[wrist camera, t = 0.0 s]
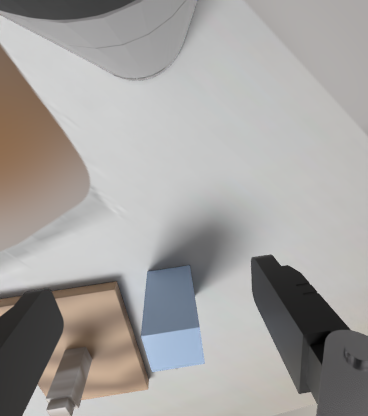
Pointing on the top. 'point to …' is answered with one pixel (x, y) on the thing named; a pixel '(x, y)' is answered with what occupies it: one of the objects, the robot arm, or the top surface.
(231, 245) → the top surface
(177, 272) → the light blue block
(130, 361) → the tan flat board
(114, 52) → the robot arm
